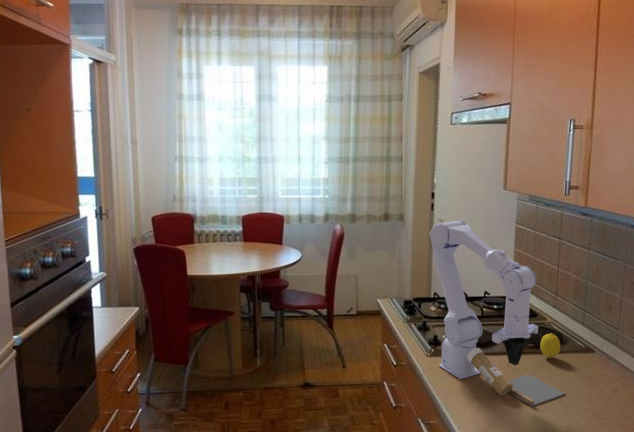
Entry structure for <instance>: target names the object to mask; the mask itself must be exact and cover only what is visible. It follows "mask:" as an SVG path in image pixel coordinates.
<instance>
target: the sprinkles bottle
mask: <svg viewBox="0 0 634 432" xmlns="http://www.w3.org/2000/svg"><path fill="white" fill-rule="evenodd" d="M467 359H468V360H469V361H470V363H472V364H473V365H474V366H475V368H476V369H477V370H478V371H479V372H480V375H481V376H482V377H483V378H484V379H485V380H486V382H487V383H488V384H489V385H490V386H491V387H492V388H493V389H494V390H495V392H497V393H498V395H499V396H500V397H502V396H505V395H507V394H508V392H509V391H510V390H511V389H512V387H513V384H512V383H510V382H509V379H508V378H506V376H505V375H504V374H503V373H502V372H501V370H500V369H499V368H498V367H497V366H496V365H495V364H494V363H493V362H492V361H491V360H490V359H489V358H488V356H487V355H485V352H484V351H482V349H481V348H480V347H476V348H475V349H473V350H472V351H471V352H470V353H469V354H468V356H467Z"/></svg>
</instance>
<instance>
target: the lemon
mask: <svg viewBox="0 0 634 432" xmlns="http://www.w3.org/2000/svg"><path fill="white" fill-rule="evenodd" d="M539 345H540V346H539V347H540V351H541V353H542V354H543V355H544V356H546V357H547V358H548V359H551V358H553V357H556V356H557V355H558V354H559V352H560V350H561V343H560V339H559V337H558V336H557V335H555V334H554V333H552V332H550V333H547V334H545V335H543V336H542V337H541V339H540V344H539Z"/></svg>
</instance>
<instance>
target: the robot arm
mask: <svg viewBox="0 0 634 432" xmlns="http://www.w3.org/2000/svg"><path fill="white" fill-rule="evenodd" d="M429 237H430V242H431V245H432V252H433V253H432V255H433V258H434V262H435V265H436V269H437V274H438V276H439V281H440V283H441V287H442V291H443V294H444V295H443V296H444V299H445V302H446V305H447V309H448V312H447V314H446V315H445V317H444V319H443V323H444V335H445V339H444V340H443V342H442V344H441V361H440V362H441V363H439V364H438V366H439V367H440V368H442V369H443V370H445V371H447V372H448V373H450V375H452V376H455V377H456V378H458V379H460V380H463V379H467V378H469V377H474V376H478V375H479V374H480V375H481V373H480V372H479V371H478V370H477V368H476V367H475V366H474V365H473V364H472V363H470V361H469V360H468V359H467V356H468V354H469V353H470V352H471V351H472V350H473V349H475V348H477V343H478V340H479V338H481V337H482V335H483V326H482V323H481V321H480V320H479V319H478V317H477V314H476V312H475V311H474V309H473V310H472V309H471V308H470V307H469V306H468V304H467V300H466V296H465V292H464V288H463V285H462V282H461V278H460V274H459V272H458V268H457V264H456V261H455V258H454V254H455V252H456V251H457V249H458V248H459V247H460V246H461V245H463V246H465V247H466V248H467V249H469V250H470V251H471V252H473V253H474V254H475V255H477V256H478V257H480V258H481V259H482V260H483V264H484V267H486V268H487V270H488V271H491V273H493V274H494V275H495V276H497V278H499V279H501V282H502V286H503V288H504V290H505V291H504V295H505V308H504V321H503V322H504V326H503V327H502V328H501V329H499V330H498V331H497V332H495V333H492V336H491V341H492V342H493V343H495V344H501V343H502V344H503V345H504V349H505V351H506V354H507V355H506V356H507V360H508V363H509V364H511V365H513V366H517V365H519V364H520V360H521V359H522V356H523V353H524V350H525V349H526V348H527V346H528V345H529V344H530V338H531V334H538V332H539V326H538V325H536V324H534V323H529V320H530V319H529V317H530V306H531V305H530V304H531V295H532V294H531V291H532V290H531V289H532V288H534V287H535V285H536V284H537V275H536V273H535V271H534V270H533V269H532V268H531V267H530V266H527V265H523V266H522V265H521V264H520V263H519V262H518V261H515V260H513V259H512V258H511V257H509V256H508V255H507V254H506V253H507V252H505V251H504V250H503V249H492V247H490V246H489V245H488V244H487V243H486V242H485V241H484V240H483V239H481V238H480V237H479V236H478V235H477V234H476V233H475V232H474V231H473V230H472V227H471V225H469V224H467V223H466V222H465V221H464V220H462V219H458V220H454V221H447V222H437V223H435V224H434V225H433V226H432V228H431V230H430V232H429Z"/></svg>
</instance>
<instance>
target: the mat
mask: <svg viewBox="0 0 634 432" xmlns="http://www.w3.org/2000/svg"><path fill="white" fill-rule="evenodd" d="M508 381H509V382H510V383H512V384H513V387H512V389H511V390H510V391H509V392H508V393H507V394H508V395H510V396H512V397H513V398H515V399H517V400H519V401H521V402H522V403H524V404H525V405H527V406H529V407H531V408H532V407H535V406H538V405H541V404H544V403H546V402H548V401H551V400H552V401H553V400H555V399H558V398H560V397H563V396H566V392H564V391H562V390H560V389H559V388H556V387H554V386H552V385H550V384H549V383H546V382H544V381H543V380H540V379H539V378H536V377H535V376H533V375H531V374H525V375H522V376H519V377H516V378H511V379H508Z"/></svg>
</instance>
